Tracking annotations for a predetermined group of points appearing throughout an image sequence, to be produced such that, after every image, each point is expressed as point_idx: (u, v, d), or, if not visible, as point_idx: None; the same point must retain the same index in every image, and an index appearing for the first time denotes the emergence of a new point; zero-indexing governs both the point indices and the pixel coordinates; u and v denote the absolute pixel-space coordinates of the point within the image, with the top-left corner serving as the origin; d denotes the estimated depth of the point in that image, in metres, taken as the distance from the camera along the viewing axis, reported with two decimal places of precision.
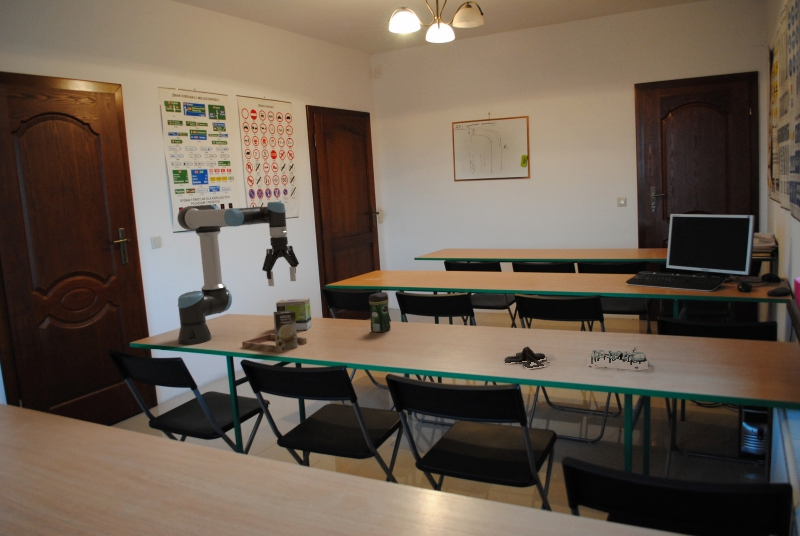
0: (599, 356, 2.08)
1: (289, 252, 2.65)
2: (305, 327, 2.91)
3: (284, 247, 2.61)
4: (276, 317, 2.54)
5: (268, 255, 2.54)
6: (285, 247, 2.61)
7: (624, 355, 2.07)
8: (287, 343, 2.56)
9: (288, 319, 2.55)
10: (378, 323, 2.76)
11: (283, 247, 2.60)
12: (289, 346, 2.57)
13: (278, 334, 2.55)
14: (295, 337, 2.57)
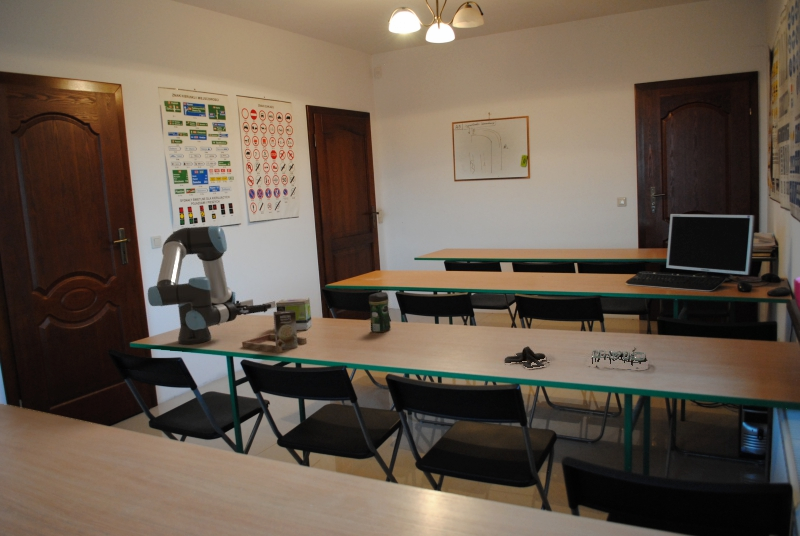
0: (599, 356, 2.08)
1: None
2: (305, 327, 2.91)
3: None
4: (276, 317, 2.54)
5: None
6: None
7: (624, 355, 2.07)
8: (287, 343, 2.56)
9: (288, 319, 2.55)
10: (378, 323, 2.76)
11: None
12: (289, 346, 2.57)
13: (278, 334, 2.55)
14: (295, 337, 2.57)
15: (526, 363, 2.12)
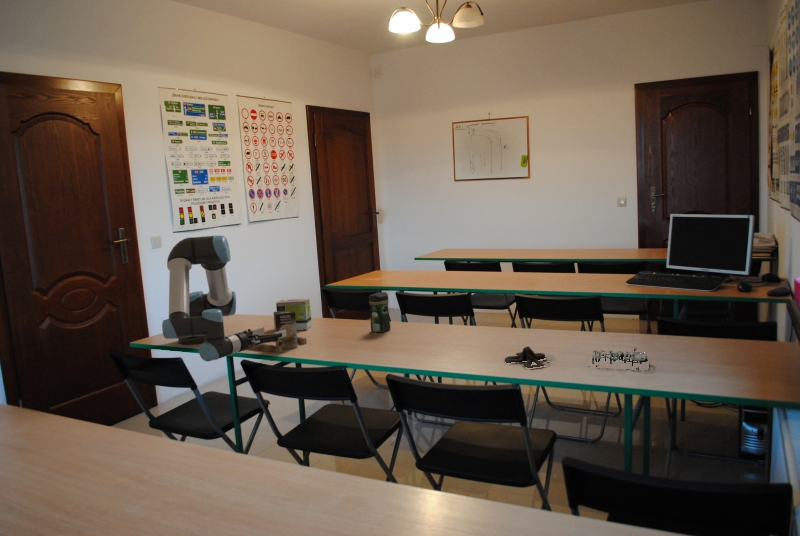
0: (600, 356, 2.07)
1: None
2: (305, 327, 2.91)
3: None
4: (276, 317, 2.54)
5: None
6: None
7: (625, 355, 2.06)
8: (287, 343, 2.56)
9: (288, 319, 2.55)
10: (378, 323, 2.76)
11: None
12: (289, 346, 2.57)
13: None
14: (295, 337, 2.57)
15: (526, 363, 2.12)
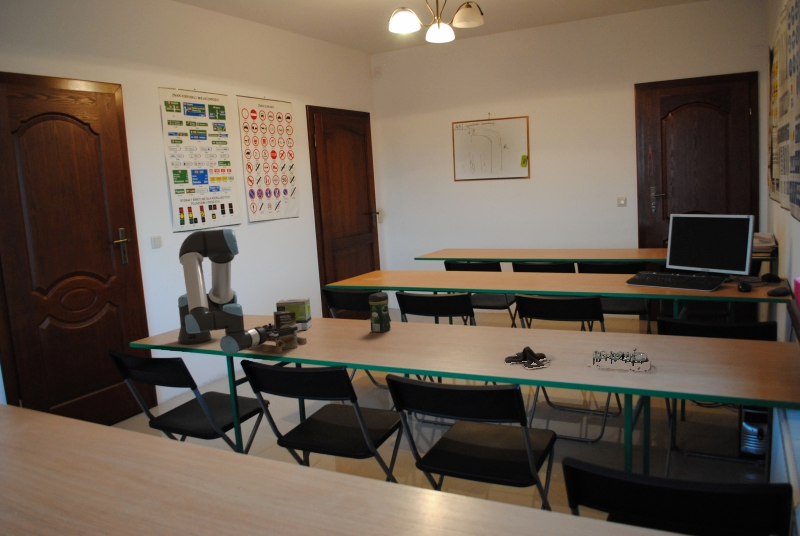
0: (601, 357, 2.07)
1: None
2: (305, 327, 2.91)
3: None
4: (276, 317, 2.54)
5: None
6: None
7: (626, 356, 2.06)
8: (287, 343, 2.56)
9: (288, 319, 2.55)
10: (378, 323, 2.76)
11: None
12: (289, 346, 2.57)
13: None
14: (295, 337, 2.57)
15: (526, 363, 2.12)
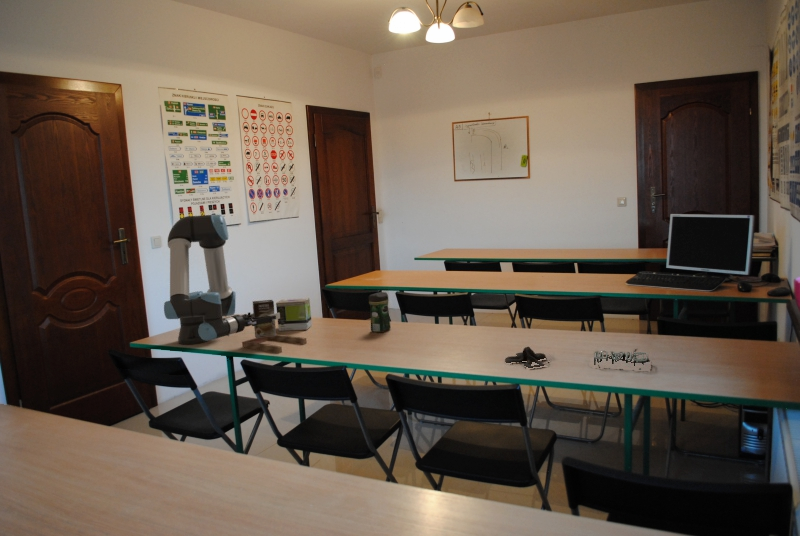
0: (602, 357, 2.06)
1: None
2: (305, 327, 2.91)
3: None
4: (255, 306, 2.60)
5: None
6: None
7: (627, 356, 2.06)
8: (265, 332, 2.63)
9: (267, 308, 2.62)
10: (378, 323, 2.76)
11: None
12: (268, 334, 2.63)
13: None
14: (273, 326, 2.64)
15: (527, 363, 2.12)
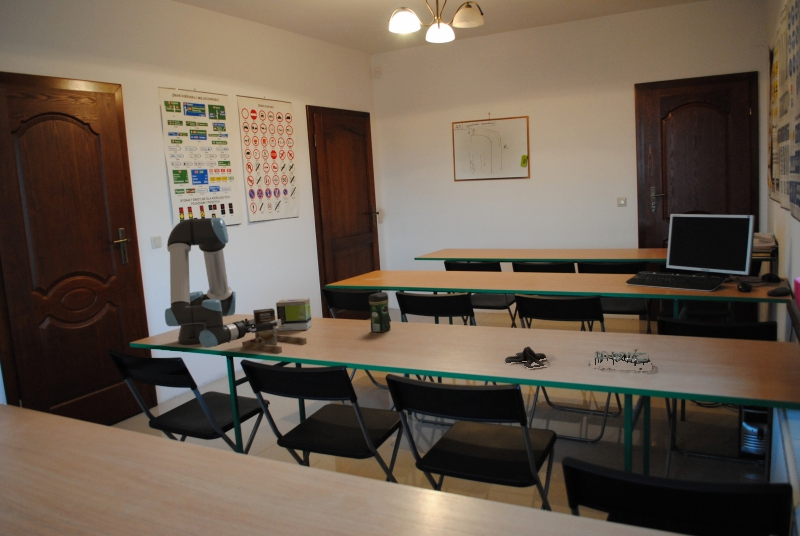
0: (603, 357, 2.06)
1: None
2: (305, 327, 2.91)
3: None
4: (256, 315, 2.61)
5: None
6: None
7: (628, 356, 2.06)
8: (266, 340, 2.63)
9: (268, 317, 2.63)
10: (378, 323, 2.76)
11: None
12: (269, 343, 2.64)
13: (258, 332, 2.62)
14: (274, 334, 2.64)
15: (527, 363, 2.12)
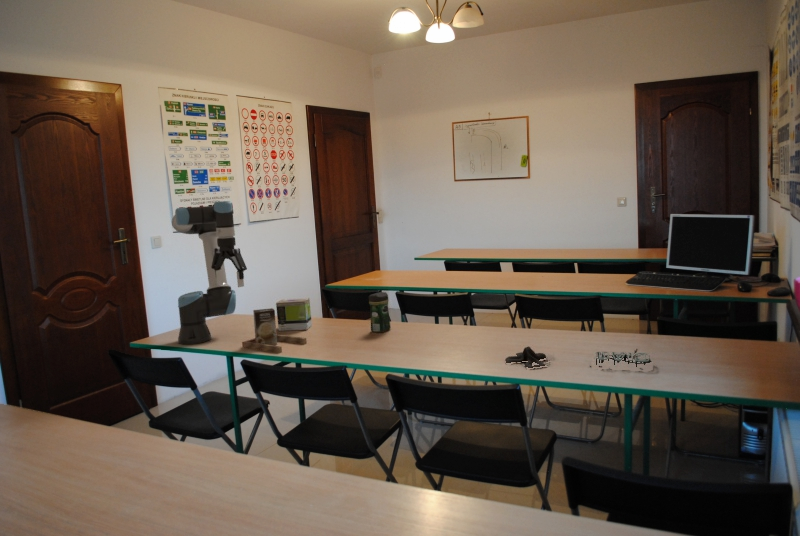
0: None
1: None
2: (305, 327, 2.91)
3: (227, 249, 2.49)
4: (256, 315, 2.61)
5: None
6: (228, 249, 2.49)
7: (629, 356, 2.05)
8: (266, 340, 2.63)
9: (268, 317, 2.62)
10: (378, 323, 2.76)
11: (226, 249, 2.49)
12: (269, 343, 2.64)
13: (258, 332, 2.62)
14: (274, 334, 2.64)
15: (527, 363, 2.12)
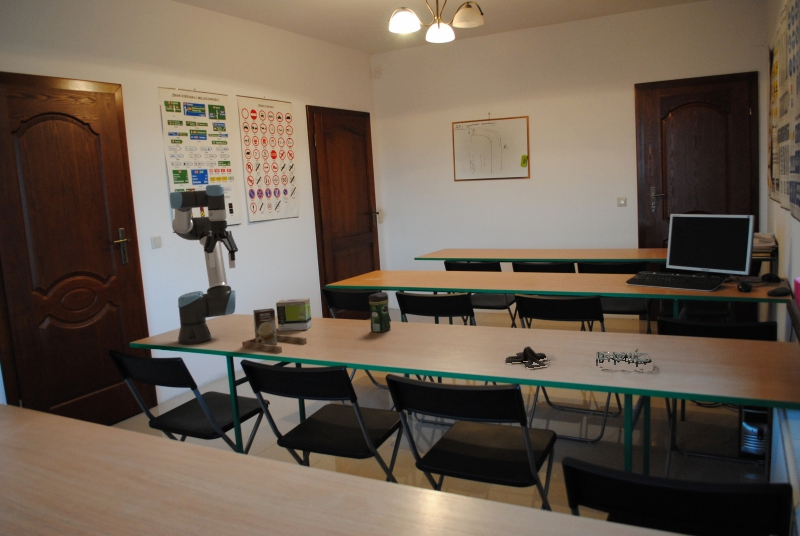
0: (604, 358, 2.05)
1: None
2: (305, 327, 2.91)
3: (219, 231, 2.56)
4: (256, 315, 2.61)
5: None
6: (220, 231, 2.56)
7: (629, 356, 2.05)
8: (266, 340, 2.63)
9: (268, 317, 2.63)
10: (378, 323, 2.76)
11: (218, 231, 2.56)
12: (269, 343, 2.64)
13: (258, 332, 2.62)
14: (274, 334, 2.64)
15: (527, 363, 2.12)
